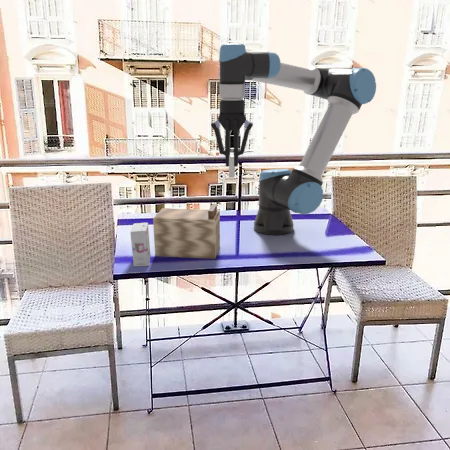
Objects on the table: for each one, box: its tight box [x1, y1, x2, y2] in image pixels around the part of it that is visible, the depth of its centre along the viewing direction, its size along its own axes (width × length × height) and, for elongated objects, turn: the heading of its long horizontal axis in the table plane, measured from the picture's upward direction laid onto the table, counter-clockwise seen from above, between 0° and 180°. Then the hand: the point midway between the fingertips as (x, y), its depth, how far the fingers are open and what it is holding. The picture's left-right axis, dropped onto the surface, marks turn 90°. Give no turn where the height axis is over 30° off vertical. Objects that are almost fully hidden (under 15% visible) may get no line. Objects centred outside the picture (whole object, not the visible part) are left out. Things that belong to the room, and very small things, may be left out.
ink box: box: [130, 222, 152, 267], centre depth 146 cm, size 9×5×12 cm, turn 5°
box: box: [152, 207, 221, 260], centre depth 153 cm, size 20×11×13 cm, turn 83°
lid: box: [154, 203, 219, 220], centre depth 151 cm, size 20×10×4 cm, turn 83°
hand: (231, 176), depth 145 cm, fingers closed
